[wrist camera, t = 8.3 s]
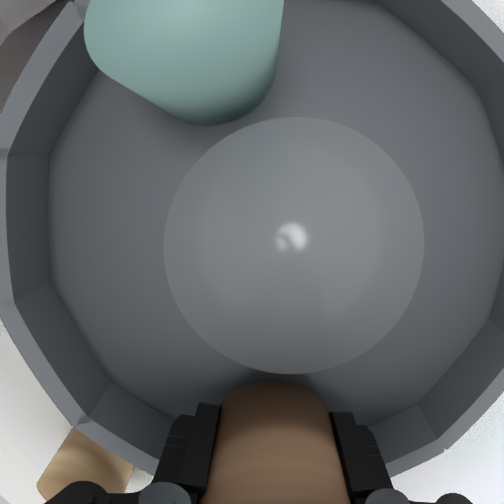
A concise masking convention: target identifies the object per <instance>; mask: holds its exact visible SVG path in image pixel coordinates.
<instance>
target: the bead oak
mask: <svg viewBox="0 0 504 504" xmlns="http://www.w3.org/2000/svg"><path fill="white" fill-rule="evenodd" d="M75 427H76V425H75V426H74V427H73V428H72V430H71V431H70V433H69V434H68V436H67V437H66V439H65V440H64V442H63V443H62V445H61V446H60V448H59V449H58V451H57V453H56V454H55V456H54V457H53V459H52V460H51V462H50V463H49V465H48V466H47V468H46V470H45V471H44V473H43V474H42V476H41V477H40V479H39V481H38V482H37V489H38V491H39V493H40V494H41V495H42V496H43V498H44V499H45V500H46V501H48V500H50V499H51V498H52V497H53V496H55V495H56V494H57V493H59V492H60V491H61V490H62V489H64V488H65V487H66V486H67V485H69V484H71V483H73V482H76V481H91V482H94V483H96V484H98V485H100V486H101V487H103V488H104V489H105V491H106V492H107V493H124V492H125V490H126V487H127V485H128V482H129V480H130V477H131V475H132V472H133V470H134V467H135V466H134V465H132V464H131V463H129V462H127V461H125V460H124V459H122V458H120V457H118V456H117V455H115V454H113V453H112V452H110V451H108V450H107V449H105V448H104V447H102V446H100V445H99V444H97V443H96V442H94V441H93V440H91V439H90V438H88V437H87V436H85V435H84V434H82V433H81V432H79V431H78V430H76V429H75Z"/></svg>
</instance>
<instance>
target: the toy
mask: <svg viewBox="0 0 504 504" xmlns="http://www.w3.org/2000/svg"><path fill="white" fill-rule="evenodd" d="M54 1H56V0H0V45H1V44H2V43H3V42H4V40H5V39H6V38H7V37H8V36H9V35H10V34H11V33H12V32H13V31H14V30H15V29H16V28H18V27H19V26H20V25H22V24H23V23H25V22H26V21H27V20H29V19H30V18H32V17H33V16H36V15H37V14H38V13H40V12H41V11H43V10H44V9H45V8H46V7H48V6H49V5H50V4H52V3H53V2H54Z"/></svg>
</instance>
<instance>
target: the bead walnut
mask: <svg viewBox="0 0 504 504" xmlns="http://www.w3.org/2000/svg"><path fill="white" fill-rule="evenodd" d="M199 504H350V499H349V496H348V491H347V487H346V483H345V478H344V474H343V470H342V465H341V461H340V457H339V453H338V449H337V444H336V440H335V436H334V432H333V428H332V424H331V420H330V416H329V411H328V408H327V405H326V404H325V402H324V400H323V399H322V398H321V397H320V396H319V395H318V394H317V393H316V392H314V391H313V390H311V389H310V388H307V387H305V386H303V385H300V384H297V383H293V382H289V381H280V380H270V381H261V382H255V383H252V384H248V385H245V386H243V387H240V388H239V389H237V390H235V391H233V392H232V393H230V394H229V395H228V396H227V397H226V398H225V399H224V400H223V401H222V402H221V403H220V412H219V418H218V423H217V429H216V435H215V440H214V446H213V452H212V458H211V463H210V469H209V475H208V481H207V486H206V492H205V494H204V495H203V496H202V498H201V499H200V501H199Z"/></svg>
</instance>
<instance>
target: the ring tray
mask: <svg viewBox="0 0 504 504" xmlns="http://www.w3.org/2000/svg"><path fill="white" fill-rule="evenodd" d="M74 2H75V3H73V2H71V1H69V2H68V3H67V5H66V6H65V7H64V8H63V10H62V11H61V12H60V14H59V15H58V17H57V18H56V19H55V21H54V22H53V23H52V25H51V26H50V28H49V29H48V31H47V32H46V34H45V35H44V36H43V38H42V40H41V41H40V43H39V44H38V46H37V47H36V49H35V50H34V52H33V54H32V55H31V57H30V59H29V60H28V62H27V64H26V65H25V67H24V69H23V70H22V72H21V74H20V76H19V78H18V79H17V81H16V83H15V85H14V87H13V89H12V91H11V93H10V95H9V97H8V99H7V101H6V103H5V105H4V107H3V109H2V111H1V113H0V318H1V320H2V322H3V324H4V326H5V328H6V329H7V331H8V333H9V335H10V337H11V338H12V340H13V342H14V344H15V345H16V347H17V349H18V350H19V352H20V354H21V355H22V357H23V358H24V360H25V362H26V363H27V365H28V366H29V368H30V369H31V371H32V372H33V374H34V375H35V377H36V378H37V380H38V381H39V383H40V384H41V386H42V387H43V388H44V390H45V391H46V393H47V394H48V395H49V397H50V398H51V400H52V401H53V402H54V404H55V405H56V406H57V408H58V409H59V410H60V411H61V413H62V414H63V415H64V417H65V418H66V419H67V420H68V422H69V423H70V424H71V425H76V427H75V429H76V430H78V431H79V432H81V433H82V434H84V435H85V436H87V437H88V438H90V439H91V440H93V441H94V442H96V443H97V444H99V445H100V446H102V447H104V448H105V449H107V450H108V451H110V452H112V453H113V454H115V455H117V456H118V457H120V458H122V459H124V460H125V461H127V462H129V463H131V464H132V465H134V466H136V467H138V468H140V469H142V470H143V471H145V472H147V473H149V474H151V475H153V476H154V475H155V472H156V469H157V466H158V463H159V460H160V457H161V454H162V451H163V449H164V446H165V443H166V440H167V437H168V434H169V431H170V428H171V425H172V423H173V422H174V421H175V420H176V419H177V418H178V417H179V416H180V415H181V414H185V415H191V416H195V413H196V410H197V406H198V403H199V402H203V403H210V404H218V405H220V403H221V402H222V401H223V400H224V399H225V398H226V397H227V396H228V395H229V394H230V393H232V392H233V391H235V390H237V389H239V388H240V387H243V386H245V385H248V384H252V383H255V382H261V381H270V380H280V381H289V382H293V383H297V384H300V385H303V386H305V387H307V388H310V389H311V390H313V391H314V392H316V393H317V394H318V395H319V396H320V397H321V398H322V399H323V400H324V402H325V404H326V405H327V408H328V411H329V413H330V412H344V411H351V412H352V413H353V416H354V419H355V422H356V425H365V426H366V427H367V428H368V429H369V430H370V431H371V432H372V433H373V434H374V436H375V439H376V442H377V444H378V447H379V450H380V452H381V456H382V458H383V460H384V463H385V466H386V469H387V471H388V474H389V477H390V478H391V477H393V476H395V475H398V474H400V473H402V472H404V471H407V470H409V469H411V468H413V467H415V466H417V465H419V464H421V463H423V462H425V461H427V460H429V459H431V458H433V457H435V456H437V455H439V454H441V453H443V452H444V448H445V449H448V448H450V447H451V446H452V445H453V444H454V443H455V442H456V441H457V440H458V439H459V438H460V437H461V436H462V435H463V434H464V433H465V432H466V431H467V430H468V429H469V428H470V427H471V426H472V425H473V424H474V423H475V422H476V421H477V420H478V419H479V418H480V417H481V416H482V415H483V414H484V413H485V412H486V411H487V410H488V409H489V407H490V406H491V405H492V404H493V403H494V402H495V401H496V400H497V398H498V397H499V396H500V395H501V394H502V393H503V391H504V33H503V32H502V31H501V30H500V29H499V27H498V26H497V25H496V24H495V23H494V22H493V21H492V20H491V19H490V18H489V17H488V16H487V15H486V14H485V13H484V12H483V11H482V10H481V9H480V8H479V7H478V6H477V5H476V4H475V3H474V2H473V1H472V0H284V5H283V13H282V21H281V29H280V38H279V46H278V54H277V62H276V70H275V76H274V80H273V83H272V86H271V88H270V90H269V92H268V93H267V95H266V96H265V98H264V99H263V100H262V102H261V103H260V104H259V105H258V106H257V107H256V108H255V109H253V110H252V111H251V112H249V113H248V114H246V115H245V116H243V117H241V118H239V119H237V120H235V121H232V122H229V123H225V124H221V125H214V126H201V125H194V124H190V123H186V122H184V121H181V120H179V119H177V118H175V117H174V116H172V115H171V114H169V113H167V112H166V111H164V110H163V109H161V108H159V107H158V106H156V105H155V104H153V103H152V102H150V101H148V100H147V99H145V98H143V97H142V96H140V95H139V94H137V93H135V92H134V91H132V90H130V89H129V88H127V87H125V86H124V85H122V84H120V83H119V82H117V81H115V80H114V79H112V78H110V77H109V76H108V75H106V74H105V73H103V72H102V71H101V70H100V69H99V68H98V67H97V66H96V64H95V63H94V62H93V60H92V59H91V57H90V55H89V53H88V51H87V48H86V44H85V40H84V20H85V16H86V11H87V8H88V6H89V3H90V0H74Z"/></svg>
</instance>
